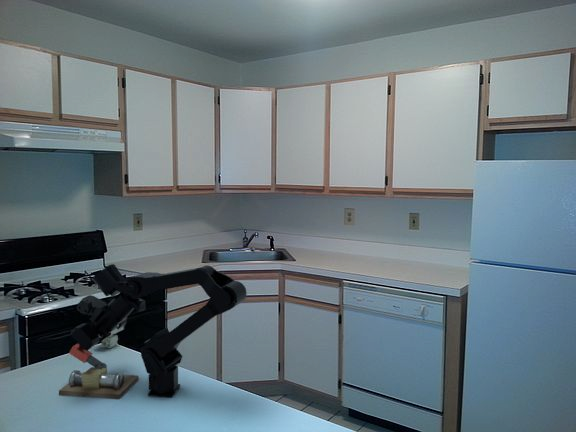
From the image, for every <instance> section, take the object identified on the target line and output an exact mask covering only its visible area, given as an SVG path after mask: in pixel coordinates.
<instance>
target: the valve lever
mask: <svg viewBox="0 0 576 432" xmlns="http://www.w3.org/2000/svg"><path fill="white" fill-rule="evenodd" d="M79 345H80V344H79V343H75V345H73V346H72V347H71V348H70V350H69V353H68V354H69V355H70V356H72V357H74V358H75V359H76V360H78V361H81V363H83V364H85V363H88V364H89V365H91V367H97V368H107V369H108V365H107V364H106V363H105V362H102V361H101V360H100V359H98V358H96V357H95V356H93V352H92V351H89V350H88V351H87V350H84V349H81V348H80V347H79Z"/></svg>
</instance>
